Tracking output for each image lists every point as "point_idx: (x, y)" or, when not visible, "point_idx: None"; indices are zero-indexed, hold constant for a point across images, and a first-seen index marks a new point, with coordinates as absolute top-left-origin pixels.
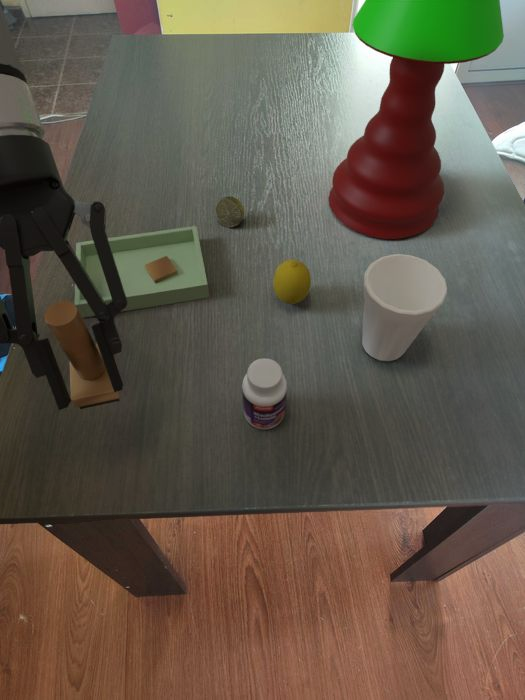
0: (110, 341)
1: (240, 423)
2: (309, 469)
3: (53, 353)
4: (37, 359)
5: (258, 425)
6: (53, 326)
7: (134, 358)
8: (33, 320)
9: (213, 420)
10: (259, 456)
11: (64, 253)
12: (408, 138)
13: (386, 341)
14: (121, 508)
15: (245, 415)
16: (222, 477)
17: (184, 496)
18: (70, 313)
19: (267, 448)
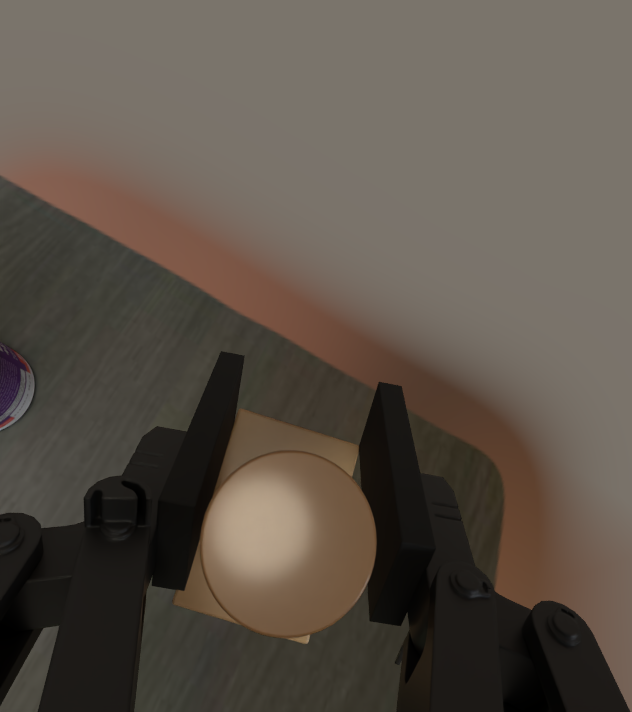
0: (165, 461)
1: (50, 395)
2: (4, 246)
3: None
4: (430, 516)
5: (19, 356)
6: (348, 475)
7: (161, 704)
8: (412, 679)
9: (94, 432)
10: (65, 315)
11: None
12: None
13: None
14: (330, 367)
15: (26, 390)
16: (149, 319)
17: (226, 327)
18: (245, 506)
19: (41, 320)
